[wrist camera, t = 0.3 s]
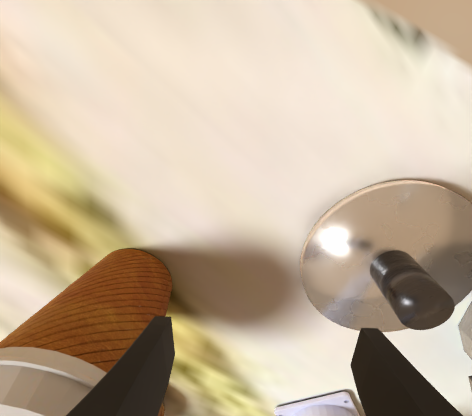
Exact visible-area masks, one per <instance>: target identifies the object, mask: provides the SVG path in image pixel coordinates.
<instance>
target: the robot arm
mask: <svg viewBox="0 0 472 416" xmlns="http://www.w3.org/2000/svg"><path fill="white" fill-rule="evenodd" d="M174 356H175V350H174V341H173V331H172V322H171V317H163V316H155V317H154V318H153V319H152V320H151V321H150V322H149V324H148V325H147V326H146V328H145V329H144V330H143V331H142V333H141V334H140V335H139V336H138V338H137V339H136V340H135V341H134V342H133V344H132V345H131V346H130V347H129V348H128V350H127V351H126V352H125V353H124V354H123V355H122V357H121V358H120V359H119V360H118V361H117V362H116V364H115V365H114V366H113V367H112V368H111V369H110V370H109V371H108V373H107V374H106V375H105V376H104V377H103V378H102V379H101V380H100V381H99V382H98V383H97V384H96V385H95V386H94V387H93V389H92V390H91V391H90V392H89V393H88V394H87V395H86V396H85V397H84V398H83V399H82V400H81V401H80V402H79V403H78V404H77V405H76V406H75V407H74V408H73V409H72V410H71V411H70V412H69V413H68V414H67V415H66V416H158V413H159V410H160V407H161V404H162V401H163V398H164V395H165V392H166V389H167V386H168V383H169V378H170V374H171V370H172V365H173V361H174ZM351 368H352V372H353V376H354V380H355V384H356V388H357V391H358V395H359V398H360V401H361V403H362V406H363V409H364V412H365V414H366V416H463V415H462V414H461V413H460V412H458V411H457V410H456V409H455V408H454V407H453V406H452V405H451V404H450V403H449V402H448V401H447V400H446V399H445V398H444V397H443V396H442V395H441V394H440V393H439V392H438V391H437V390H436V389H435V388H434V387H433V386H432V385H431V384H430V383H429V382H428V381H427V380H426V379H425V378H424V377H423V376H422V375H421V374H420V373H419V372H418V371H417V370H416V369H415V367H414V366H413V365H412V364H411V363H410V362H409V361H408V360H407V359H406V358H405V357H404V356H403V355H402V354H401V353H400V352H399V350H398V349H397V348H396V347H395V346H394V345H393V344H392V343H391V342H390V341H389V340H388V339H387V338H386V337H385V335H384V334H383V333H382V332H381V331H380V330H379V329H378V328H361V330H360V333H359V337H358V341H357V344H356V348H355V351H354V355H353V358H352V362H351ZM274 412H275V415H276V416H360V415H359V413H358V411H357V409H356V407H355V405H354V403H353V401H352V399H351V397H350V395H349V393H347V392H339V393H335V394H331V395H327V396H322V397H318V398H314V399H310V400H305V401H301V402H297V403H293V404H288V405H284V406H280V407H276V408H275V410H274Z"/></svg>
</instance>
